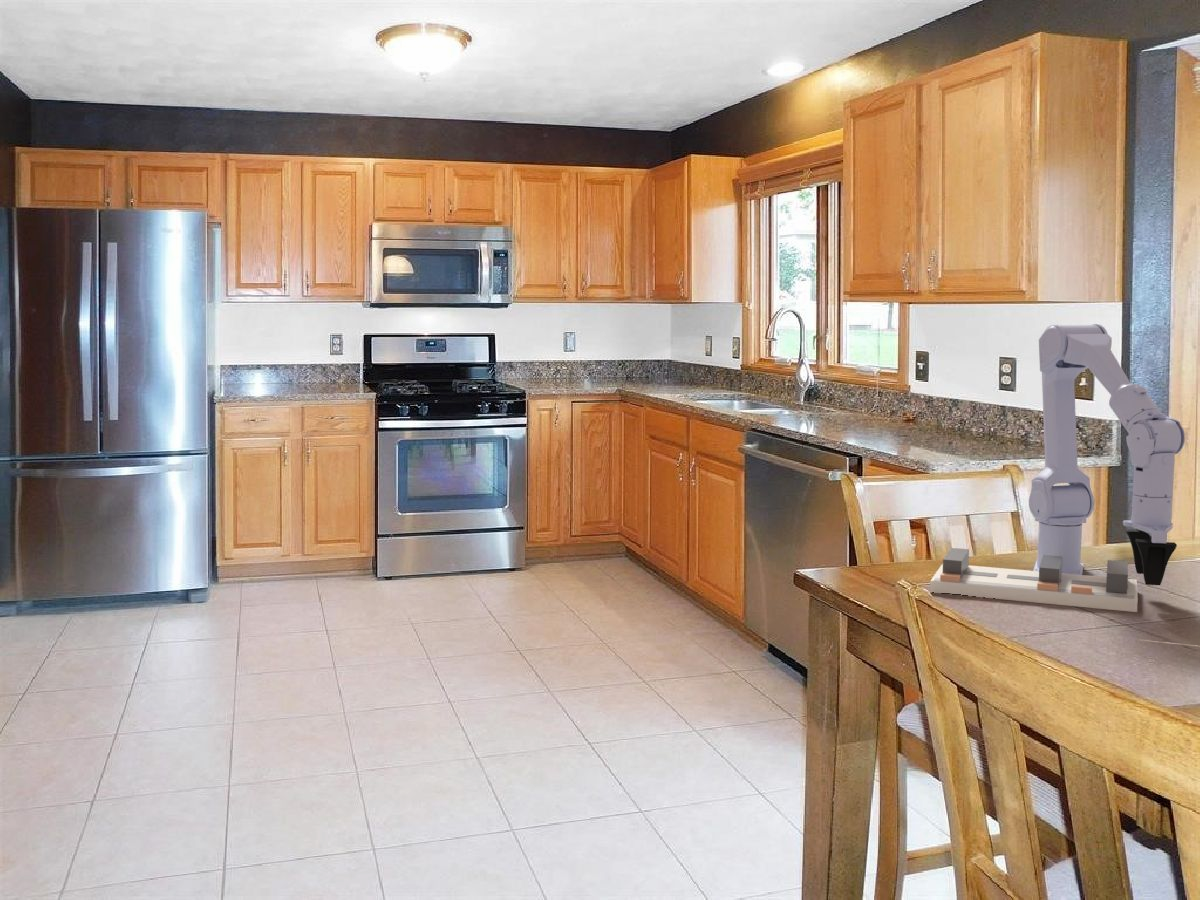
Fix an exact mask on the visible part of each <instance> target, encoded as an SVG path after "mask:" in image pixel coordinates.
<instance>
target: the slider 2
mask: <svg viewBox="0 0 1200 900" xmlns="http://www.w3.org/2000/svg"><path fill="white" fill-rule="evenodd" d="M1128 564H1129V563H1128V561H1122V560H1110V559H1107V566H1106V567H1107V568H1106V577H1107V581H1106V592H1116V593H1127V582H1128V579H1129V577H1128V576H1129V570H1128V569H1129V565H1128Z"/></svg>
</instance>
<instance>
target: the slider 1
mask: <svg viewBox="0 0 1200 900" xmlns="http://www.w3.org/2000/svg"><path fill="white" fill-rule="evenodd" d="M969 560H970V549H969V548H958V547H951V548H950V549H949V551H948V552H947V553H946V554H945V556H944V558H943V559H942V564H943V573H947V574H958V575H960V579H961V578H962V576H963V575H964V573H965V571H966V570H967V568H968V566H969V564H970V563H969V562H970V561H969Z"/></svg>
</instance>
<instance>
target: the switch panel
mask: <svg viewBox="0 0 1200 900" xmlns="http://www.w3.org/2000/svg"><path fill="white" fill-rule="evenodd" d="M1106 581H1107V576H1099V575H1098V576H1097V575H1087V574H1082V575H1076V574H1064V573H1062V575H1061V579H1060V583H1059V587H1058V583H1049V582H1039V571H1033V570H1029V569H1028V570H1027V569H1026V570H1025V569H1017V568H1016V569H1015V568H1002V567H993V566H979V565H969V566H968V568H967V570H966V571H965V573H964V575H963V576H962V578H961V579H960V575H958V574H947V573H943V563H942V564H941V565H940V566H939V568H938V570H937V571H936V572H935V573H934V575H933V576H932V578H931V579H930V583H929V585H930V586H929V589H930V590H929V593H932V592H934V593H933V594H941V593H954V594H961V595H960V596H962V595H968V596H967V597H972V596H976V597H975V598H983V597H985V598H986V599H993V598H995V599H996V600H1007V601H1015V602H1016V601H1017V602H1025V603H1026V602H1027V603H1038V604H1048V605H1058V606H1068V607H1079V608H1088V609H1099V610H1110V611H1122V612H1131V613H1138V600H1139V599H1138V582H1137V581H1138V579H1135V578H1128V582H1127V593H1116V592H1106Z"/></svg>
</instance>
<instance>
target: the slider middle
mask: <svg viewBox="0 0 1200 900" xmlns="http://www.w3.org/2000/svg"><path fill="white" fill-rule="evenodd" d="M1061 575H1062V557H1061V556H1049V555H1043V558H1042V561H1041V564H1040V567H1039V582H1049V583H1058V587H1059V583H1060V579H1061Z"/></svg>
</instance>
